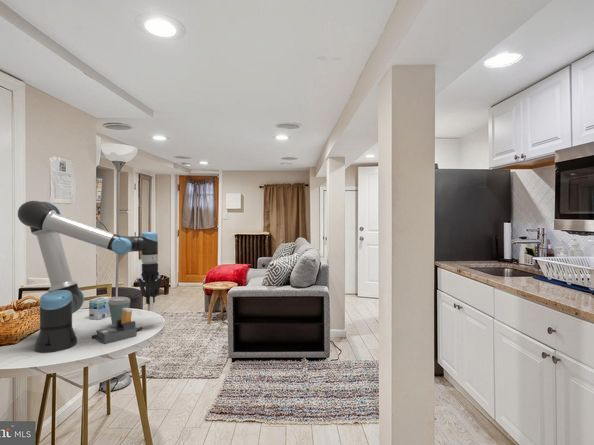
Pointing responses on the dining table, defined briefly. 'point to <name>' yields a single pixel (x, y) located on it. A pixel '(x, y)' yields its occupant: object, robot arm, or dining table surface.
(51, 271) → the robot arm
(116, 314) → the disposable coffee cup
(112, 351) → the dining table surface
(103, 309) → the light bulb box
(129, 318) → the lever
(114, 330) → the labelled grey housing
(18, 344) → the dining table surface
